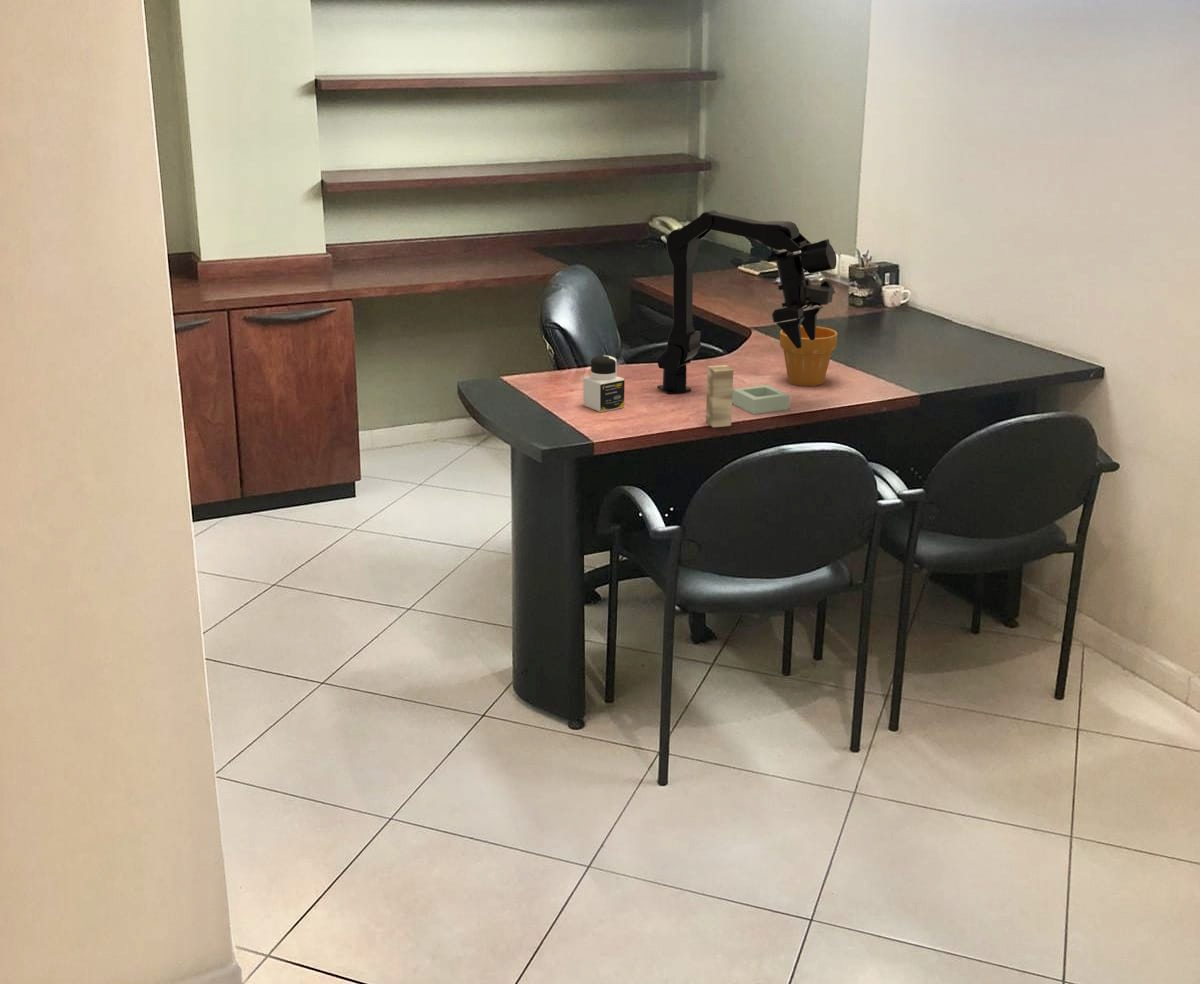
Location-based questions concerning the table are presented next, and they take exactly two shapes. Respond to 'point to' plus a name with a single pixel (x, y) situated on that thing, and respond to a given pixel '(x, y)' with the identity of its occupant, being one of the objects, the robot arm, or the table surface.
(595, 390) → the medicine bottle
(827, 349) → the flower pot
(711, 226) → the robot arm
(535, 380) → the table surface
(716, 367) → the maple peg
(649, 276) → the table surface
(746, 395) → the socket block
